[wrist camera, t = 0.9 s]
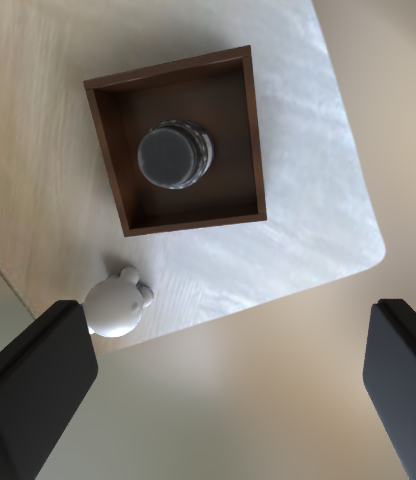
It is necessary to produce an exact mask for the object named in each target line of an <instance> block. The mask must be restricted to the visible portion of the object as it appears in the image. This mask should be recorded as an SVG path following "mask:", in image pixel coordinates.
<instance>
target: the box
mask: <svg viewBox="0 0 416 480" xmlns="http://www.w3.org/2000/svg"><path fill="white" fill-rule="evenodd" d="M83 83H84V87H85V90H86V94H87V98H88V102H89V105H90V109H91V113H92V117H93V120H94V124H95V128H96V132H97V135H98V139H99V143H100V147H101V150H102V154H103V158H104V162H105V165H106V169H107V173H108V177H109V181H110V184H111V188H112V192H113V196H114V199H115V203H116V207H117V211H118V214H119V218H120V222H121V226H122V229H123V234H124V237H130V236H139V235H147V234H156V233H164V232H172V231H181V230H189V229H198V228H206V227H215V226H223V225H232V224H240V223H249V222H257V221H266V220H267V213H266V202H265V192H264V181H263V171H262V160H261V150H260V139H259V129H258V118H257V108H256V97H255V87H254V76H253V66H252V56H251V46H250V45H247V46H243V47H238V48H233V49H229V50H224V51H219V52H215V53H210V54H205V55H201V56H196V57H192V58H187V59H182V60H178V61H173V62H168V63H164V64H159V65H154V66H150V67H145V68H141V69H136V70H131V71H127V72H122V73H117V74H113V75H108V76H104V77H99V78H94V79H90V80H85V81H83ZM168 119H176V120H182V121H187V122H192V123H196V124H198V125H200V126H202V127H203V128H204V129H205V130H206V131H207V132H208V134H209V135H210V136H211V138H212V141H213V143H214V158H213V161H212V164H211V165H210V167H209V168H208V169H207V170H206V172H205V173H204V174H203V175H202V176H201V177H200V178H199V180H198V181H196V182H195V183H194V184H192V185H190V186H188V187H186V188H182V189H170V188H166V187H161V186H157V185H155V184H153V183H152V182H150V181H149V180H148V179H147V178H146V177H145V176H144V175H143V173H142V172H141V170H140V167H139V164H138V159H137V154H138V147H139V144H140V142H141V140H142V139H143V138H144V136H145V135H146V134H147V132H148V131H149V130H150V129H151V128H152V127H153V126H154V125H156V124H157V123H159V122H161V121H164V120H168Z"/></svg>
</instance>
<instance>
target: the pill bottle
mask: <svg viewBox="0 0 416 480" xmlns="http://www.w3.org/2000/svg"><path fill="white" fill-rule="evenodd" d="M213 158H214V143H213V141H212V138H211V136H210V135H209V134H208V132H207V131H206V130H205V129H204V128H203V127H202V126H200V125H198V124H196V123H192V122H187V121H182V120H176V119H168V120H164V121H161V122H159V123H157V124H156V125H154V126H153V127H152V128H151V129H150V130H149V131H148V132H147V134H146V135H145V136H144V138H143V139H142V140H141V142H140V144H139V147H138V154H137V159H138V164H139V167H140V170H141V172H142V173H143V175H144V176H145V177H146V178H147V179H148V180H149V181H150V182H152V183H153V184H155V185H157V186H161V187H166V188H170V189H182V188H186V187H188V186H190V185H192V184H194V183H195V182H196V181H198V180H199V178H200V177H201V176H202V175H203V174H204V173H205V172H206V170H207V169H208V168H209V167H210V165H211V164H212V161H213Z"/></svg>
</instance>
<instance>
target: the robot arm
mask: <svg viewBox="0 0 416 480" xmlns="http://www.w3.org/2000/svg"><path fill="white" fill-rule="evenodd" d="M97 374H98V364H97V360H96V356H95V352H94V348H93V344H92V341H91V337H90V333H89V329H88V325H87V321H86V317H85V313H84V309H83V306H82V305H80V304H79V303H78V302H77V301H75V300H59V301H57V302H55V303H54V304H53V305H52V306H51V307H50V308H48V309H47V310H46V311H45V312H44V313H43V314H42V315H41V316H40V317H38V318H37V319H36V320H35V321H34V322H33V323H32V324H31V325H29V326H28V327H27V328H26V329H25V330H24V331H23V332H22V333H21V334H20V335H19V336H17V337H16V338H15V339H14V340H13V341H12V342H11V343H10V344H8V345H7V346H6V347H5V348H4V349H3V350H2V351H1V352H0V480H35V478H36V477H37V475H38V473H39V471H40V470H41V468H42V467H43V465H44V463H45V462H46V459H47V458H48V456H49V455H50V453H51V452H52V450H53V448H54V447H55V445H56V443H57V442H58V440H59V438H60V437H61V435H62V433H63V432H64V430H65V428H66V427H67V425H68V423H69V422H70V420H71V419H72V417H73V415H74V414H75V412H76V410H77V408H78V407H79V405H80V404H81V402H82V400H83V399H84V397H85V395H86V394H87V392H88V390H89V389H90V387H91V385H92V384H93V382H94V380H95V379H96V377H97ZM363 381H364V385H365V387H366V390H367V392H368V394H369V396H370V398H371V400H372V402H373V404H374V406H375V409H376V411H377V413H378V415H379V417H380V419H381V421H382V423H383V425H384V427H385V429H386V432H387V434H388V435H389V438H390V440H391V442H392V444H393V446H394V448H395V450H396V452H397V454H398V457H399V459H400V461H401V463H402V465H403V467H404V469H405V471H406V473H407V475H408V477H409V479H410V480H416V312H415V311H414V310H413V309H412V308H411V307H410V306H409V305H408V304H407V303H406V302H405V301H404V300H403V299H380V300H379V301H378V303H377V304H373V305H372V308H371V315H370V322H369V330H368V337H367V345H366V353H365V360H364V368H363Z"/></svg>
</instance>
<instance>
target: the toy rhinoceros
mask: <svg viewBox="0 0 416 480" xmlns="http://www.w3.org/2000/svg"><path fill="white" fill-rule="evenodd" d="M139 278H140V274H139V271H138V270H137V269H136V268H134V267H126V268H124V269H123V270H122V272H121V273H120V277H119V276H116V275H111V276H109V277H108V278H107V279H106V280H105V281H102V282H100V283H98V284H97V285H96V286H94V287H93V288H92V289H91V291H90V292H89V293H88V295H87V297H86V299H85V302H84V303H81V304H80V305H82V306H83V309H84V313H85V317H86V321H87V325H88V329H89V333H90V334H92V333H94V332H96V333H97V334H99V335H102V336H106V337H117V336H121V335H124V334H126V333H128V332H129V331H131V330H132V329H133V328H134V327H135V326H136V325H137V324H138V322H139V321H140V319H141V316H142V313H143V308H145V307H146V306H148V305H149V304H150V303H151V302H152V301H153V298H154V294H153V291H152V290H151V289H149V288H148V287H141V288H139V289H137V288H136V286H135V285H136V284H137V282H138V281H139Z"/></svg>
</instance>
